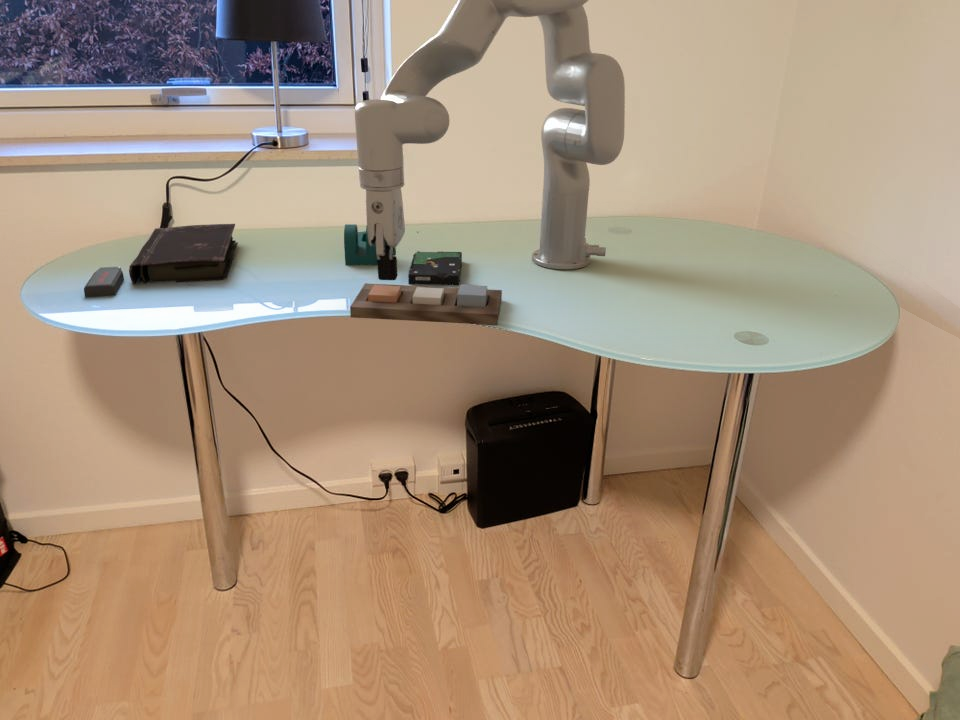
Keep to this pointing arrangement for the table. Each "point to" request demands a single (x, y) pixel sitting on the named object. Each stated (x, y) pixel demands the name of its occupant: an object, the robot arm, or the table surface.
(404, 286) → the panel
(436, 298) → the white button
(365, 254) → the bracket
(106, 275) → the dark grey block
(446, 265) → the disk drive
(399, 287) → the terracotta button
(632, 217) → the table surface
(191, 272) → the diary
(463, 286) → the slate button
